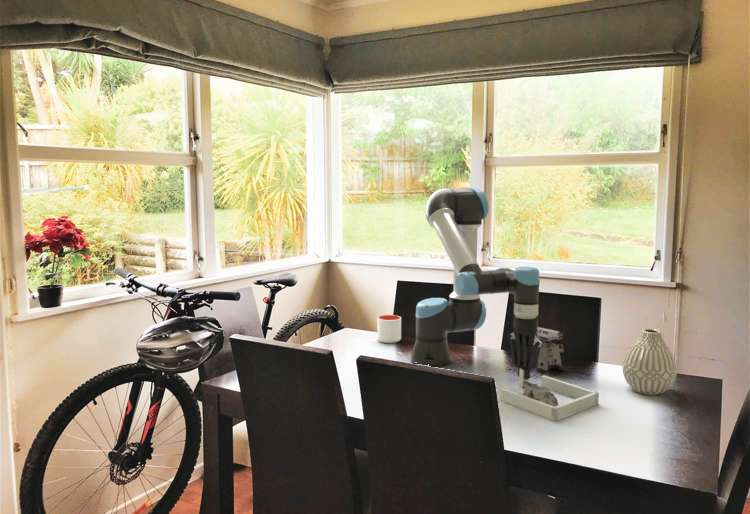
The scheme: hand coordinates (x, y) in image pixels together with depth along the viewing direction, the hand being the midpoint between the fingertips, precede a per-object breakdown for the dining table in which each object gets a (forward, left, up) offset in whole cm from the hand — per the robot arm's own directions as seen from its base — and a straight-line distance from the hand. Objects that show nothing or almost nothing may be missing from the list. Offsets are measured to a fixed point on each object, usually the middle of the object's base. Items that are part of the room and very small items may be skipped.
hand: (523, 387), depth 193 cm
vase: (+23, +34, -2) cm, 41 cm away
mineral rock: (+8, -2, -2) cm, 8 cm away
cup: (-75, +4, -2) cm, 75 cm away
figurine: (-11, +25, -2) cm, 27 cm away
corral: (+10, 0, -2) cm, 10 cm away
